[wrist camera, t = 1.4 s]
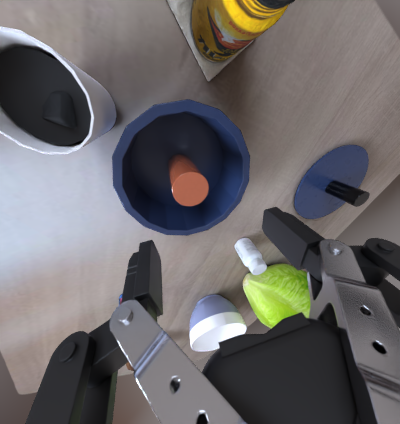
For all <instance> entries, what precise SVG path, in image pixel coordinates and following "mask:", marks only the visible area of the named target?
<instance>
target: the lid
mask: <svg viewBox="0 0 400 424" xmlns="http://www.w3.org/2000/svg"><path fill="white" fill-rule="evenodd" d="M368 162H369V159H368V154H367V152H366V150H365V149H364V148H362V147H360V146H357V145H345V146H341V147H338V148H336V149H334V150H332V151H330V152H328V153H327V154H326V155H324V156H323V157H322V158H320V159H319V160H318V161H317V162H316V163H315V164H314V165H313V166H312V167H311V168H310V169H309V170H308V172H307V173H306V174H305V176H304V177H303V179H302V180H301V182H300V184H299V186H298V189H297V191H296V195H295V202H294V204H295V209H296V211H297V213H298V214H299V215H300V216H302V217H304V218H307V219H316V218H320V217H323V216H326V215H328V214H330V213H332V212H333V211H335V210H336V209H338V208H339V207H340V206H342V205H343V204H344V203H345V202H347V203H349V204H351V205H353V206H356V207H357V206H360V205H362V204H363V203H365V202H366V201H367V199H368V198H369V195H370V194H369V193H368V192H366V191H363V190H361V189H358V187H359V186H360V184H361V183H362V181H363V179H364V177H365V175H366V172H367V168H368Z"/></svg>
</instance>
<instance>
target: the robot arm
mask: <svg viewBox="0 0 400 424" xmlns="http://www.w3.org/2000/svg"><path fill="white" fill-rule="evenodd" d="M262 229H263V232H264V233H265V235H266V236H267V237H268V238H269V239H270V240H271V241H272V242H273V244H274V245H275V246H276V247H277V248H278V249H279V250H280V251H281V252H282V254H283V255H284V256H285V257H286V258H287V259H288V260H289V261H290V262H291V264H292V265H293V266H294V267H295V268H296V269H297V270H298V271H299V270H302V269H306V270H307V271H308V272H307V280H308V288H309V296H310V311H309V318H306V317H305V315H304V314H303V313H302V312H300V313H298V314H295V315H292V316H289V317H287V318H284V319H282V320H281V321H280V322H278V323H277V324H276V325H275V326H274V327H273V328H272V329H270V330H269V331H268V332H267V333H265V334H246V335H245V334H242V335H237V336H235V337H232V338H229V339H226V340H224V341H221V342H218V343H219V347H220V348H219V349H218V350H217V351H216V352H215V353H214V354H213V355H212V356H211V357H210V359H209V360H208V362H207V363H206V365H205V367H204V369H203V371H202V372H201V371H200V370H199V369H198V368H197V367H196V365H195V364H194V363H193V362H192V361H191V360H190V359H189V358H188V356H187V355H186V354H185V353H184V352H183V351H182V350H181V349H180V347H179V346H178V345H177V344H176V343H175V342H174V341H173V339H172V338H171V337H170V336H169V335H168V334H167V333H166V332H165V331H164V330H163V329H162V328H161V327H160V326H159V325H158V323H157V316H160V315H163V305H162V274H161V259H160V256H159V253H158V251H157V249H156V247H155V244H154V242H153V240H150V241H146V242H142V243H140V246H139V252H136V253H133V255H132V257H131V258H130V260H129V263H128V270H127V276H126V280H125V285H124V290H123V296H122V301H121V304H120V305H119V306H118V307H117V308H116V310H115V311H114V312H113V314H112V316H111V319H109V320H108V321H107V322H105V323H104V324H102V325H101V326H99V327H98V328H96V329H95V330H93V331H92V332H90V333H89V334H87V333H86V332H83V331H79V332H75V333H73V334H71V335H70V336H68V337H67V338H66V339H65V340H64V341H63V342H62V343H61V344H60V345H59V346H58V347H57V348H56V350H55V351H54V353H53V355H52V357H51V359H50V361H49V364H48V366H47V369H46V372H45V374H44V377H43V379H42V382H41V384H40V387H39V390H38V392H37V395H36V397H35V400H34V403H33V405H32V408H31V411H30V413H29V415H28V418H27V421H26V423H25V424H112V420H113V411H114V402H115V392H116V383H117V374H118V369H120V368H121V367H122V366H124V365H125V364H126V363H127V362H130V364H131V365H132V367H133V369H134V377H135V379H136V381H137V383H138V385H139V387H140V388H141V390H142V391H143V393H144V395H145V397H146V398H147V400H148V402H149V404H150V405H151V407H152V409H153V411H154V412H155V414H156V416H157V418H158V419H159V421H160V423H161V424H400V331H399V328H400V290H399V289H397V288H396V287H395V286H394V285H392V284H391V283H390V282H388V281H387V280H386V279H385V278H386V277H387V276H388V275H389V274H391V275H392V276H393V277H395V278H396V279H397V280H399V281H400V246H398V245H396V244H394V243H392V242H390V241H387V240H384V239H378V238H371V239H368V240H367V241H366V242H365V244H364V245H363V246H347V245H346V244H344V243H342V242H340V241H337V240H333V239H324V238H323V237H321V236H320V235H319V234H317V233H316V232H315V231H313V230H312V229H311V228H309V227H308V226H307V225H304V223H303V222H301V221H299V219H297V218H296V217H295V216H293V215H291V214H289V213H286V212H282V211H281V210H280V209H279V208H277V207H273V208H270V209H266V210H264V215H263V224H262ZM398 327H399V328H398Z"/></svg>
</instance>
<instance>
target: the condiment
mask: <svg viewBox="0 0 400 424" xmlns="http://www.w3.org/2000/svg"><path fill="white" fill-rule="evenodd" d="M167 1H168V3H169V6H170V8H171V10H172V11H173V13H174V15H175V17H176V19H177V21H178V23H179V25H180V27H181V29H182V31H183V33H184V35H185V37H186V39H187V41H188V44H189V46H190V48H191V50H192V51H193V53H194V55H195V57H196V59H197V61H198V63H199V65H200V67H201V69H202V71H203V73H204V75H205V77H206V79H207V81H208V82H209V81H210V80H211V79H212V78H213V77H214V76H216V75H217V74H218V73H219V72H220V71H221V70H222V69H223V68H224V67H225V66H226V65H227V64H228V63H230V62H231V61H232V60H233V59H234V58H235V57H236V56H237V55H238V54H239V53H240V52H241V51H243V50H244V49H245V48H246V47H247V46H248V45H249V44H250V43H251V42H252V41H253V40H254V39H256V38H257V37H258V36H260V35H261V34H262V33H264V32H265V31H266V30H267V29H269V28H270V27H271V26H272V25H274V24H275V23H276V22H277V21H278V20H279V19H280V17H281V16H282V15H283V13H284V12H285V10H286V9H287V7H288V5H289V4H290V3H292V2H294V1H295V0H167Z"/></svg>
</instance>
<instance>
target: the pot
mask: <svg viewBox="0 0 400 424" xmlns="http://www.w3.org/2000/svg"><path fill="white" fill-rule="evenodd" d="M178 153H182V154H186V155H187V156H189V157H190V159H191V160H192V161H193V162H194V164H195V165H196V166H197V168H198V169H199V170H200V172H201V173H202V174H203V176H204V177H205V178H206V180H207V182H208V185H209V191H208V194H207V196H206V198H205V199H204V200H203V201H202V202H201V203H199V204H197V205H194V206H184V205H181V204H180V203H178V202H177V201H176V200H175V198H174V197H173V193H172V188H171V184H170V179H169V174H168V169H167V164H168V161H169V159H170V158H171V157H172V156H173V155H175V154H178ZM112 166H113V186H114V189H115V191H116V193H117V195H118V197H119V199H120V201H121V203H122V205H123V207H124V209H125V210H126V211H127V212H128V213H129V214H130V215H131V216H132V217H134V218H135V219H136V220H137V221H138V222H139V223H141V224H142V225H143V226H144V227H147V228H149V229H152V230H155V231H157V232H160V233H163V234H166V235H191V234H194V233H198V232H202V231H205V230H208V229H210V228H212V227H213V226H215V225H216V224H218V223H220V222H221V221H223V220H224V219H226V218H227V217H228V215H229V214H230V213H231V212H232V211H233V210H234V208H235V207H236V206H237V205H238V204H239V203H240V201H241V199H242V196H243V194H244V192H245V189H246V187H247V184H248V182H249V169H250V155H249V152H248V150H247V147H246V144H245V141H244V139H243V136H242V133H241V131H240V129H239V128H238V127H237V126H236V125H235V124H234V123H233V122H232V121H231V120H230V119H229V118H228V117H227V116H226V115H225V114H224V113H223V112H222V111H221V110H219V109H217V108H214V107H211V106H208V105H205V104H202V103H199V102H196V101H193V100H190V99H187V100H181V101H175V102H168V103H162V104H156V105H153V106H152V107H151V108H149V109H148V110H147V111H145V112H144V113H143V114H141V115H140V116H139V117H137V118H136V119H135V120H134V121H132V122H131V123H130V124H128V125H127V126H126V128H125V130H124V132H123V134H122V136H121V138H120V141H119V143H118V145H117V147H116V149H115V151H114V154H113V156H112Z"/></svg>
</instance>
